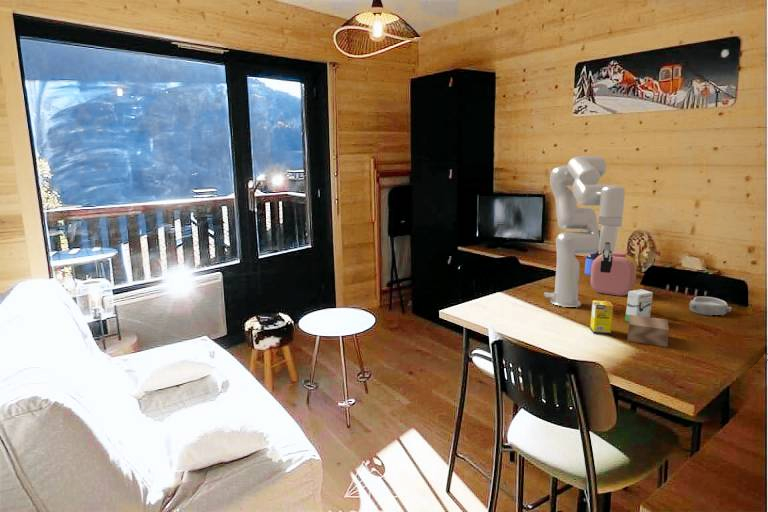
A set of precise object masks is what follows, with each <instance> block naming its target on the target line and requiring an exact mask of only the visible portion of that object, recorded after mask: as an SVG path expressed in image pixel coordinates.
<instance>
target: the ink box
mask: <svg viewBox="0 0 768 512" xmlns="http://www.w3.org/2000/svg"><path fill="white" fill-rule="evenodd" d="M653 294H654V293H653V292H652V291H650V290H649V291H648V290H645V289H634V290H633V289H632V291H629V292H628V294H627V301H626V310H625V317H624V321H626V322H627V323H629V316H630V315H635V316H643V317H651V310H652V302H653Z"/></svg>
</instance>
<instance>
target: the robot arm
mask: <svg viewBox="0 0 768 512" xmlns="http://www.w3.org/2000/svg"><path fill="white" fill-rule="evenodd" d="M606 172H607V162H606V160H605V159H604V158H603V157H602V156H599V155H578V156H574V157H572V158H571V159H569V160H568V163H567V165H561V166H556V167H554V168H553V169H552V170H551V172H550V177H549V183H550V189H551V191H552V195H553V197H554V200H555V211H556V221H557V225H558V228H559V229H562V230H567V231H564V232H561V233H559V234H558V235H557V236H556V238H555V250H556V263H555V264H556V268H555V269H556V270H555V280H554V281H555V282H554V292H545V291H544V293H543V297H544V298H547V299H548V298H549V302H551V303H552V304H551V303H550V304H551V305H553V304H554V305H553V306H555V305H558V306H557V307H559V306H562V307H561V308H565V307H576V308H579V307H581V306H582V303H581V301H580V300H578V299H579V285H580V284H579V283H580V272H581V264H580V262H579V260H578V258H577V257H576V255H587V254H595V253H597V252H598V250H599V252H598V253H599V254H601V253H602V252H603V254H602V261H601V268H600V272H605V273H610V271H611V267H612V260H613V257H611V256H612V255H613V254H614V252H616V251H615V250H616V245H617V240H618V230H619V228H622V227H623V217H624V207H625V206H624V205H625V195H626V190H625V187H623V186H620V185H614V184H598V183H599V182H600V179H601V178H602V177H603V176H604V175H605V173H606ZM570 186H571V187H572V190H571V189H570V188H569V187H570ZM577 202H578V203H579V204H580V205H582V206H599V211H598V212H599V213H598V217H597V213H596V211H595V210H594V209H592V208H590V207H579V206H578V204H577ZM599 227H600V231H601V232H600V240H599V231H598V229H599ZM569 230H570V231H569ZM574 230H575V231H574Z"/></svg>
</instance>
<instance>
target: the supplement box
mask: <svg viewBox="0 0 768 512" xmlns="http://www.w3.org/2000/svg"><path fill="white" fill-rule="evenodd" d="M591 303H592V304H591V315H590V325H589V326H590V327H589V328H590V330H591V332H592V333H593V334H594V335H595V334H597V335H609V336H610V335H611V333H612V322H613V312H614V305H613V303H611V302H610V301H609V300H595V299H594V300H592V302H591Z"/></svg>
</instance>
